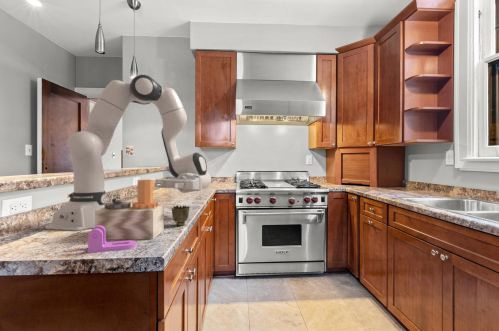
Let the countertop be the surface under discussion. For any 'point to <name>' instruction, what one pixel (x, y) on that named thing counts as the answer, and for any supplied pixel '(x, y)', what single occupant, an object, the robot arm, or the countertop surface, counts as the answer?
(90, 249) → the bracket
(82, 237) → the countertop surface
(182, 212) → the cup
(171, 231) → the countertop surface
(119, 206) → the gearbox
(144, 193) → the orange gear
